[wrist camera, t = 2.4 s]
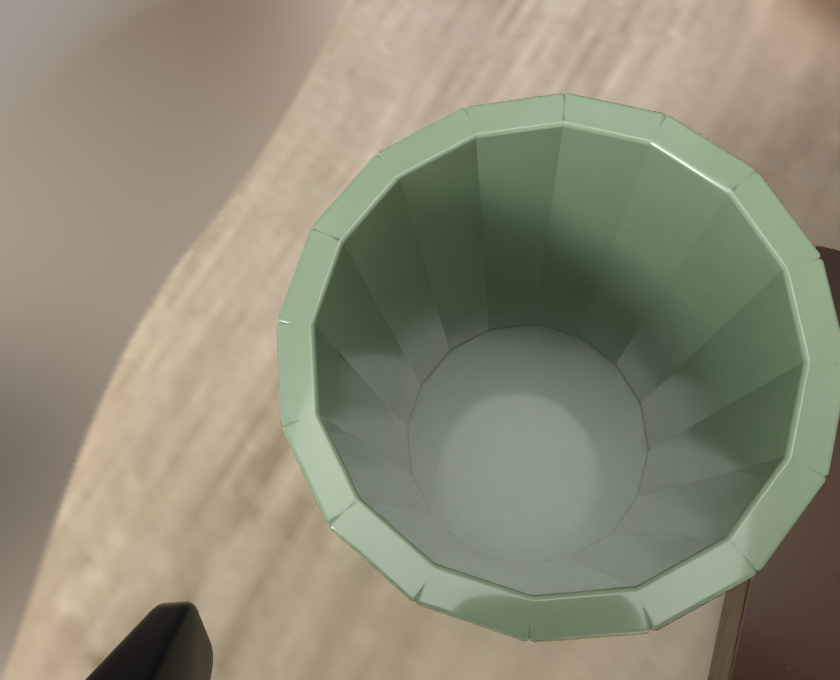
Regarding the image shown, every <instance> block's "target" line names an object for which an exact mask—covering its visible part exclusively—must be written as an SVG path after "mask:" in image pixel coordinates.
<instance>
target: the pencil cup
mask: <svg viewBox="0 0 840 680" xmlns="http://www.w3.org/2000/svg"><path fill="white" fill-rule="evenodd" d="M819 258H820V253H819V252H818V250H817V249H816V248H815V246H814V245H813V244H812V242H811V241H810V240H809V238H808V237H807V236H806V234H805V233H804V232H803V230H802V229H801V228H800V226H799V225H798V224H797V222H796V221H795V220H794V218H793V217H792V216H791V214H790V213H789V212H788V210H787V209H786V208H785V206H784V205H783V204H782V202H781V201H780V200H779V198H778V197H777V196H776V194H775V193H774V192H773V190H772V189H771V188H770V186H769V185H768V184H767V182H766V181H765V180H764V178H763V177H762V176H761V174H760V173H759V172H755V169H754V168H753V167H751V166H750V165H748V164H747V163H745V162H743V161H742V160H740V159H739V158H737V157H735V156H734V155H732V154H731V153H729V152H727V151H726V150H724V149H723V148H721V147H719V146H718V145H716V144H715V143H713V142H711V141H710V140H708V139H707V138H705V137H703V136H702V135H700V134H698V133H697V132H695V131H694V130H692V129H690V128H689V127H687V126H686V125H684V124H682V123H681V122H679V121H678V120H676V119H674V118H673V117H671V116H666V117H665V114H663V113H661V112H656V111H651V110H646V109H641V108H637V107H632V106H627V105H622V104H617V103H612V102H608V101H603V100H598V99H593V98H588V97H584V96H579V95H574V94H566V96H565V95H564V94H562V93H560V94H553V95H546V96H539V97H531V98H524V99H517V100H510V101H503V102H496V103H489V104H481V105H474V106H469V107H467V108H466V109H465V108H461V109H459V110H458V111H456V112H454V113H452V114H450V115H448V116H446V117H444V118H442V119H441V120H439V121H437V122H435V123H433V124H431V125H429V126H427V127H425V128H424V129H422V130H420V131H418V132H416V133H414V134H412V135H410V136H408V137H407V138H405V139H403V140H401V141H399V142H397V143H395V144H393V145H391V146H390V147H388V148H386V149H384V150H382V151H380V152H379V153H378V156H377V155H376V156H374V157H373V159H372V160H371V161H370V162H369V163H368V164H367V165H366V166H365V168H364V169H363V170H362V171H361V172H360V173H359V174H358V175H357V177H356V178H355V179H354V180H353V181H352V182H351V183H350V185H349V186H348V187H347V188H346V189H345V190H344V191H343V192H342V194H341V195H340V196H339V197H338V198H337V199H336V200H335V201H334V203H333V204H332V205H331V206H330V207H329V208H328V209H327V211H326V212H325V213H324V214H323V215H322V216H321V217H320V218H319V220H318V221H317V222H316V223H315V224H314V226H313V229H311V230H310V232H309V235H308V237H307V240H306V243H305V246H304V249H303V251H302V254H301V257H300V260H299V262H298V265H297V268H296V271H295V273H294V276H293V279H292V282H291V284H290V287H289V290H288V293H287V295H286V298H285V301H284V304H283V306H282V309H281V312H280V315H279V317H278V322H279V323H278V326H277V339H278V364H279V388H280V412H281V423H282V425H283V426H284V427H283V432H284V434H285V436H286V438H287V440H288V442H289V445H290V447H291V449H292V451H293V453H294V455H295V457H296V460H297V462H298V464H299V466H300V468H301V470H302V472H303V474H304V477H305V479H306V481H307V483H308V485H309V487H310V489H311V492H312V494H313V496H314V498H315V500H316V502H317V504H318V506H319V509H320V511H321V513H322V515H323V517H324V519H325V521H326V522H327V523H328V524H330V528H331V530H332V531H333V532H335V533H336V534H337V535H338V536H339V537H340V538H341V539H342V540H344V541H345V542H346V543H347V544H348V545H349V546H350V547H351V548H352V549H354V550H355V551H356V552H357V553H358V554H359V555H360V556H361V557H362V558H364V559H365V560H366V561H367V562H368V563H369V564H370V565H371V566H372V567H374V568H375V569H376V570H377V571H378V572H379V573H380V574H381V575H382V576H384V577H385V578H386V579H387V580H388V581H389V582H390V583H391V584H392V585H394V586H395V587H396V588H397V589H398V590H399V591H400V592H401V593H402V594H404V595H405V596H406V597H407V598H408V599H409V600H410V601H413V602H415V601H416V603H417V604H418V605H419V606H422V607H425V608H428V609H431V610H434V611H436V612H439V613H442V614H445V615H448V616H451V617H454V618H457V619H460V620H463V621H466V622H469V623H472V624H474V625H477V626H480V627H483V628H486V629H489V630H492V631H495V632H498V633H501V634H504V635H507V636H510V637H512V638H515V639H518V640H521V641H528V640H529V639H530V641H531V642H534V643H537V642H549V641H561V640H574V639H586V638H598V637H610V636H623V635H635V634H646V633H648V632H650V629H651V630H652V631H655V630H659V629H660V628H662V627H664V626H666V625H668V624H669V623H671V622H673V621H675V620H677V619H678V618H680V617H682V616H684V615H686V614H687V613H689V612H691V611H693V610H695V609H696V608H698V607H700V606H702V605H704V604H705V603H707V602H709V601H711V600H713V599H714V598H716V597H718V596H720V595H722V594H723V593H725V592H727V591H729V590H731V589H733V588H734V587H736V586H738V585H740V584H742V583H743V582H745V581H747V580H749V579H751V578H752V577H754V576H755V574H756V571H760V570H762V569H763V567H764V566H765V565H766V563H767V562H768V560H769V559H770V558H771V556H772V555H773V554H774V552H775V551H776V549H777V548H778V547H779V545H780V544H781V542H782V541H783V540H784V538H785V537H786V536H787V534H788V533H789V531H790V530H791V529H792V527H793V526H794V524H795V523H796V522H797V520H798V519H799V518H800V516H801V515H802V513H803V512H804V511H805V509H806V508H807V506H808V505H809V504H810V502H811V501H812V500H813V498H814V497H815V495H816V494H817V493H818V491H819V490H820V488H821V487H822V486H823V484H824V483H825V480H826V478H825V477H824V476H827V475H828V473H829V470H830V465H831V459H832V454H833V448H834V443H835V438H836V432H837V427H838V422H839V416H840V327H839V323H838V319H837V315H836V311H835V307H834V303H833V299H832V295H831V291H830V287H829V283H828V279H827V275H826V271H825V267H824V262H823V260H822V259H819Z"/></svg>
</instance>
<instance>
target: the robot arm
mask: <svg viewBox="0 0 840 680" xmlns="http://www.w3.org/2000/svg"><path fill="white" fill-rule="evenodd" d="M212 666H213V650H212V645H211V642H210V640H209V637H208V635H207V632H206V630H205V627H204V625H203V622H202V620H201V617H200V615H199V613H198V610H197V608H196V606H195V605H194V604H192V603H191V602H174V603H163V604H160V605H158V606H156V607H155V608H154V609H152V610H151V611H150V612H149V614H148V615H147V616H146V617H145V618H144V619H143V620H142V621H141V622H140V623H139V624H138V625H137V626H136V627H135V628H134V629H133V630H132V631H131V632H130V633H129V634H128V636H127V637H126V638H125V639H124V640H123V641H122V642H121V643H120V644H119V645H118V646H117V647H116V648H115V649H114V650H113V651H112V652H111V653H110V654H109V655H108V657H107V658H106V659H105V660H104V661H103V662H102V663H101V664H100V665H99V666H98V667H97V668H96V669H95V670H94V671H93V672H92V673H91V674H90V675H89V676H88V677H87V679H86V680H210V679H211V673H212Z"/></svg>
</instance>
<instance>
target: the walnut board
mask: <svg viewBox="0 0 840 680" xmlns="http://www.w3.org/2000/svg"><path fill="white" fill-rule="evenodd" d="M815 248H816V249H817V250H818V252H819V253H820V258H819V259H822V260H823V262H824V267H825V271H826V275H827V279H828V283H829V287H830V291H831V295H832V299H833V303H834V307H835V311H836V315H837V319H838V323H839V327H840V251H838V250H833V249H829V248H825V247H820V246H816V247H815ZM824 477H825V478H826V480H825V483H824V484H823V486H822V487H821V488H820V490H819V491H818V493H817V494H816V495H815V497H814V498H813V500H812V501H811V502H810V504H809V505H808V506H807V508H806V509H805V511H804V512H803V513H802V515H801V516H800V518H799V519H798V520H797V522H796V523H795V524H794V526H793V527H792V529H791V530H790V531H789V533H788V534H787V536H786V537H785V538H784V540H783V541H782V542H781V544H780V545H779V547H778V548H777V549H776V551H775V552H774V554H773V555H772V556H771V558H770V559H769V560H768V562H767V563H766V565H765V566H764V567H763V569H762V570H760V571H756V574H755V576H754V577H752V578H751V579H749V580H747V581H745V582H743V583H742V584H740V585H738V586H736V587H734V588H733V589H731V590H729V591H727V592H726V596H725V601H724V605H723V610H722V615H721V620H720V624H719V629H718V634H717V639H716V644H715V648H714V653H713V658H712V663H711V668H710V672H709V677H708V680H840V416H839V422H838V427H837V432H836V438H835V443H834V448H833V454H832V459H831V465H830V470H829V473H828V475H827V476H824Z"/></svg>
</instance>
